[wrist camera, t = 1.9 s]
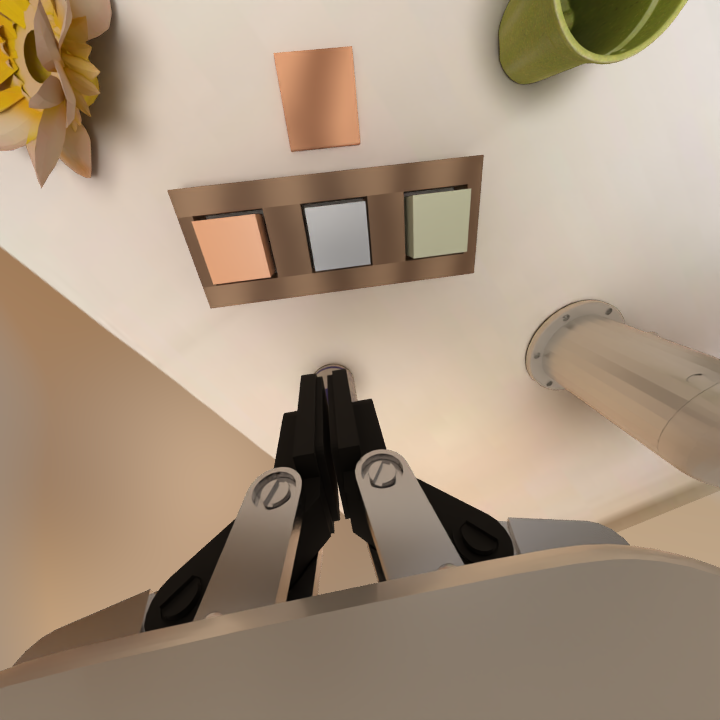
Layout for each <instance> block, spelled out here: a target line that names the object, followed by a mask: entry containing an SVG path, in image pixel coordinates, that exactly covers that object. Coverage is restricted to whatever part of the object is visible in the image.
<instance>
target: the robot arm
mask: <svg viewBox="0 0 720 720" xmlns="http://www.w3.org/2000/svg"><path fill="white" fill-rule="evenodd" d="M526 366H527V370H528V372H529V375H530V376H531V377H532V378H533V380H534V381H536V382H537V383H538V384H540V385H541V386H543V387H545V388H548V389H552V390H563V389H567V390H568V391H569V392H571V393H572V394H574V395H575V396H576V397H578V398H579V399H581V400H582V401H583V402H585V403H586V404H588V405H589V406H590V407H592V408H593V409H594V410H596V411H597V412H599V413H600V414H601V415H603V416H604V417H606V418H607V419H608V420H610V421H611V422H613V423H614V424H615V425H617V426H618V427H619V428H621V429H622V430H624V431H625V432H626V433H628V434H629V435H631V436H632V437H633V438H635V439H636V440H638V441H639V442H640V443H642V444H643V445H644V446H646V447H647V448H649V449H650V450H651V451H653V452H654V453H656V454H657V455H658V456H660V457H661V458H663V459H664V460H666V461H667V462H668V463H670V464H671V465H673V466H674V467H675V468H677V469H678V470H680V471H681V472H683V473H685V474H686V475H688V476H690V477H692V478H694V479H696V480H699V481H701V482H704V483H706V484H709V485H712V486H716V487H719V488H720V359H718V358H715V357H713V356H710V355H707V354H704V353H702V352H699V351H696V350H693V349H691V348H688V347H685V346H683V345H680V344H677V343H674V342H672V341H669V340H666V339H663V338H661V337H658V335H657V333H655V332H644V331H641V330H639V329H636V328H633V327H630V326H628V325H625V323H624V319H623V316H622V314H621V313H620V311H619V310H618V309H617V308H616V307H614V306H612V305H610V304H608V303H605V302H601V301H597V300H586V301H580V302H577V303H574V304H571V305H569V306H567V307H565V308H563V309H561V310H559V311H558V312H556V313H555V314H553V315H552V316H551V317H550V318H549V319H548V320H547V321H545V322H544V323H543V325H542V326H541V327H540V328H539V329H538V331H537V332H536V334H535V335H534V337H533V338H532V340H531V343H530V345H529V347H528V351H527V355H526ZM327 388H328V401H327V396H326V391H325V386H324V381H323V377H322V376H320V377H317V374H316V373H315V374H308V375H302V376H301V383H300V392H299V401H298V410H297V411H294V412H288V413H284V415H283V420H282V425H281V431H280V437H279V442H278V448H277V454H276V459H275V465H274V468H273V469H271V470H269V471H266V472H265V473H263V474H262V475H260V476H259V477H258V478H257V479H256V480H255V481H254V482H253V483H252V484H251V486H250V487H249V489H248V491H247V493H246V496H245V498H244V500H243V503H242V505H241V508H240V510H239V512H238V515H237V517H236V519H235V520H233V522H231V523H230V524H229V525H228V526H227V527H226V528H225V529H224V530H222V531H221V532H220V533H219V534H218V535H217V536H216V537H215V538H213V539H212V540H211V541H210V542H209V543H208V544H207V545H206V546H205V547H203V548H202V549H201V550H200V551H199V552H198V553H197V554H196V555H195V556H193V557H192V558H191V559H190V560H189V561H188V562H187V563H186V564H185V565H184V566H182V567H181V568H180V569H179V570H178V571H177V572H176V573H175V574H173V575H172V576H171V577H170V578H169V579H168V580H167V581H166V583H165V584H164V585H163V586H162V587H161V588H160V589H159V591H156V592H154V593H153V591H152V590H151V589H149V590H147V591H145V592H142V593H140V594H138V595H135V596H133V597H131V598H128V599H126V600H124V601H121V602H119V603H117V604H115V605H112V606H110V607H107V608H105V609H103V610H100V611H98V612H96V613H93V614H91V615H89V616H86V617H84V618H82V619H80V620H77V621H75V622H72V623H70V624H68V625H66V626H63V627H61V628H59V629H56V630H54V631H53V632H51V633H49V634H48V635H46V636H44V637H42V638H41V639H40V640H39V641H37V642H36V643H35V644H34V645H33V646H31V647H30V648H29V649H28V650H27V651H25V653H24V654H23V655H22V656H21V657H20V658H19V659H18V660H17V662H16V663H15V664H14V665H13V666H12V667H10V668H7V669H5V670H2V671H0V720H720V568H718V567H716V566H714V565H711V564H708V563H705V562H702V561H699V560H696V559H693V558H689V557H686V556H682V555H678V554H674V553H670V552H665V551H661V550H656V549H652V548H644V547H637V546H630V545H629V544H628V543H627V541H626V540H625V539H624V538H623V537H621V536H620V535H618V534H617V533H616V532H615V531H613V530H612V529H610V528H608V527H605V526H603V525H601V524H599V523H594V522H589V521H575V520H552V519H529V518H508V521H507V522H504V521H497V520H496V519H494V518H493V517H491V516H490V515H488V514H486V513H484V512H482V511H480V510H478V509H476V508H474V507H472V506H470V505H468V504H466V503H464V502H463V501H461V500H459V499H457V498H455V497H453V496H451V495H449V494H447V493H445V492H443V491H441V490H439V489H437V488H435V487H433V486H431V485H429V484H427V483H425V482H423V481H421V480H419V479H417V478H416V477H415V476H414V474H413V472H412V470H411V468H410V467H409V465H408V463H407V461H406V460H405V459H404V458H403V457H402V456H401V455H400V454H398V453H397V452H394V451H391V450H386V446H385V443H384V439H383V436H382V432H381V429H380V425H379V422H378V418H377V415H376V411H375V408H374V404H373V401H372V399H367V400H361V401H355V402H352V400H351V394H350V388H349V382H348V377H347V371H346V369H340V370H334V371H332V375H327ZM338 487H339V491H340V496H341V501H342V505H343V510H344V514H345V519H349V518H350V519H351V524H352V529H353V532H354V533H355V534H357V535H358V536H359V537H361V538H362V539H364V540H365V541H366V542H367V547H368V550H369V553H370V557H371V560H372V564H373V567H374V571H375V574H376V577H377V581H378V583H374V584H369V585H365V586H360V587H355V588H350V589H346V590H341V591H336V592H331V593H326V594H321V595H318V590H319V582H320V573H321V565H322V557H323V552H322V551H323V549H322V547H323V546H324V544H325V543H326V542H327V540H328V539H329V538H330V537H331V533H334V521H339V520H340V511H339V496H338Z"/></svg>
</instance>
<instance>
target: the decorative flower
mask: <svg viewBox="0 0 720 720" xmlns="http://www.w3.org/2000/svg"><path fill="white" fill-rule="evenodd" d="M111 15H112V11H111V5H110V0H0V151H8V150H14V149H17V148H19V147H22V146H24V145H26V147H27V150H28V152H29V155H30V158H31V161H32V163H33V166H34V169H35V172H36V175H37V179H38V182H39V184H40V186H41V188H42V187H43V185H44V183H45V181H46V180H47V178H48V176H49V174H50V173H51V171H52V170H53V169H54V167H55V166H56V163H57V161H58V159H59V158H60V159H61V160H62V161H63V162H64V163H65V164H66V165H67V166H68V167H69V168H71V169H72V170H73V171H74V172H76V173H77V174H80V175H82V176H84V177H86V178H91V141H90V138H89V135H88V133H87V131H86V129H85V128H84V126H83V125H82V123H81V120H82V119H81V115H80V111H82V112H83V113H85V114H86V115H88V116H90V117H91V114H90V111H89V107H88V106H90V105H91V104H93V103H94V101H95V100H96V98H97V97H98V95H99V94H100V92H99V83H98V79H97V75H98V74H99V73H100V71H99V70H98V69H97V68H96V67H95V66H94V65H93V64H92V63H90V61H89V59H88V57H89V55H90V52H91V49H92V47H91V46H89V45H88V44H87V43H86V41H88V40H90V39H93V38H95V37H98V36H100V35H101V34H103V33H104V32H105V31H106V30H108V29H109V26H110V21H111ZM79 110H80V111H79Z"/></svg>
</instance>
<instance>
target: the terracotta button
mask: <svg viewBox="0 0 720 720" xmlns="http://www.w3.org/2000/svg"><path fill="white" fill-rule="evenodd" d="M191 222H192V224H193V227H194V230H195V233H196V236H197V239H198V242H199V244H200V247H201V250H202V253H203V256H204V259H205V262H206V265H207V267H208V270H209V273H210V276H211V279H212V282H213V285H214V284H222V283H230V282H237V281H245V280H253V279H260V278H268V277H271V276H272V275H273V274H274V273H275V271H276V270H275V266H274V262H273V258H272V253H271V249H270V245H269V241H268V237H267V232H266V228H265V224H264V220H263V216H262V214H251V215H242V216H234V217H225V218H217V219H208V220H200V221H191Z"/></svg>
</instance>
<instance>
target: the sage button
mask: <svg viewBox="0 0 720 720" xmlns="http://www.w3.org/2000/svg"><path fill="white" fill-rule="evenodd" d="M470 200H471V189H463V190H454V191H446V192H437V193H429V194H420V195H412V196H408V197H404V221H405V254H406V255H408V256H410V257H412V258H422V257H429V256H437V255H445V254H452V253H460V252H467V243H468V229H469V215H470Z"/></svg>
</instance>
